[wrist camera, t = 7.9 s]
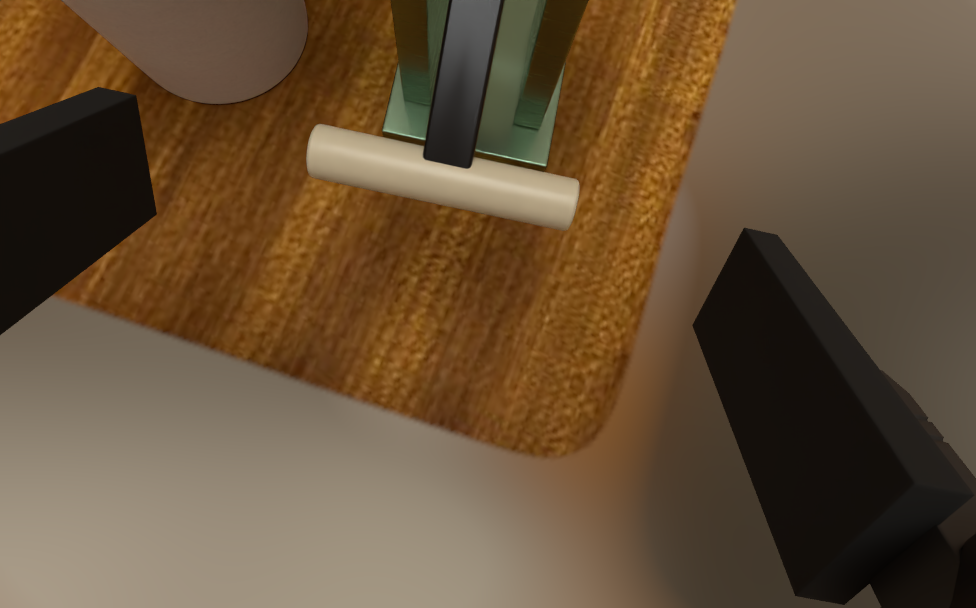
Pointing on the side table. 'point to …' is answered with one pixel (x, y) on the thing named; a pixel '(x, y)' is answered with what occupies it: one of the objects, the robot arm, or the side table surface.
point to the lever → (449, 140)
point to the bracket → (513, 81)
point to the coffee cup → (204, 42)
